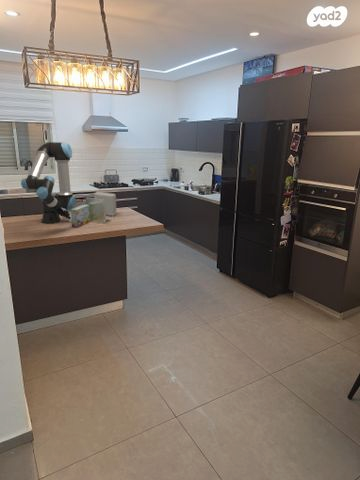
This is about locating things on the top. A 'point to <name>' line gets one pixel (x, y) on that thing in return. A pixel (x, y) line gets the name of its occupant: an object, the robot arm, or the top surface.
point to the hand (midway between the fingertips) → (70, 220)
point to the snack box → (80, 216)
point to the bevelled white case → (108, 202)
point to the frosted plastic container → (97, 210)
